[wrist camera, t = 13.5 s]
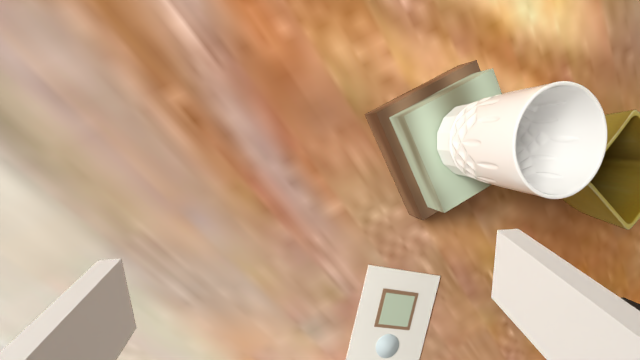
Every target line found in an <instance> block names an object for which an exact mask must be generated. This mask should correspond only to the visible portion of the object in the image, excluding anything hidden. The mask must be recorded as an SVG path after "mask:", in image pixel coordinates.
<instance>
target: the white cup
mask: <svg viewBox="0 0 640 360" xmlns="http://www.w3.org/2000/svg"><path fill="white" fill-rule="evenodd" d="M606 146H607V123H606V118H605V115H604V112H603V109H602V107H601V105H600V103H599V101H598V100H597V98H596V97H595V96H594V95H593V94H592V93H591V92H590V91H589V90H588V89H587V88H585V87H584V86H582V85H580V84H577V83H574V82H569V81H560V82H555V83H550V84H545V85H541V86H536V87H531V88H526V89H522V90H517V91H512V92H507V93H504V94H500V95H495V96H491V97H487V98H483V99H480V100H479V101H475V102H470V103H467V104H463V105H459V106H456V107H454V108H453V109H452V110H451V111H450V112H449V113H448V114H447V115H446V116H445V117H444V118H443V120H442V122H441V125H440V127H439V129H438V132H437V151H438V153H439V156H440V158H441V160H442V163H443V164H444V165H445V166H446V167H447V168H448V169H450V170H451V171H452V172H453V173H454V174H458V175H463V176H467V177H471V178H474V179H476V180H478V181H481V182H485V183H488V184H492V185H496V186H499V187H502V188H507V189H511V190H516V191H520V192H524V193H528V194H532V195H536V196H540V197H544V198H548V199H562V198H566V197H569V196H572V195H574V194H576V193H577V192H579V191H580V190H582V189H583V188H584V187H585V186H587V185H588V183H589V182H590V181H591V180H592V179H593V178H594V176H595V175H596V173H597V171H598V170H599V168H600V166H601V163H602V161H603V158H604V155H605V151H606Z"/></svg>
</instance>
